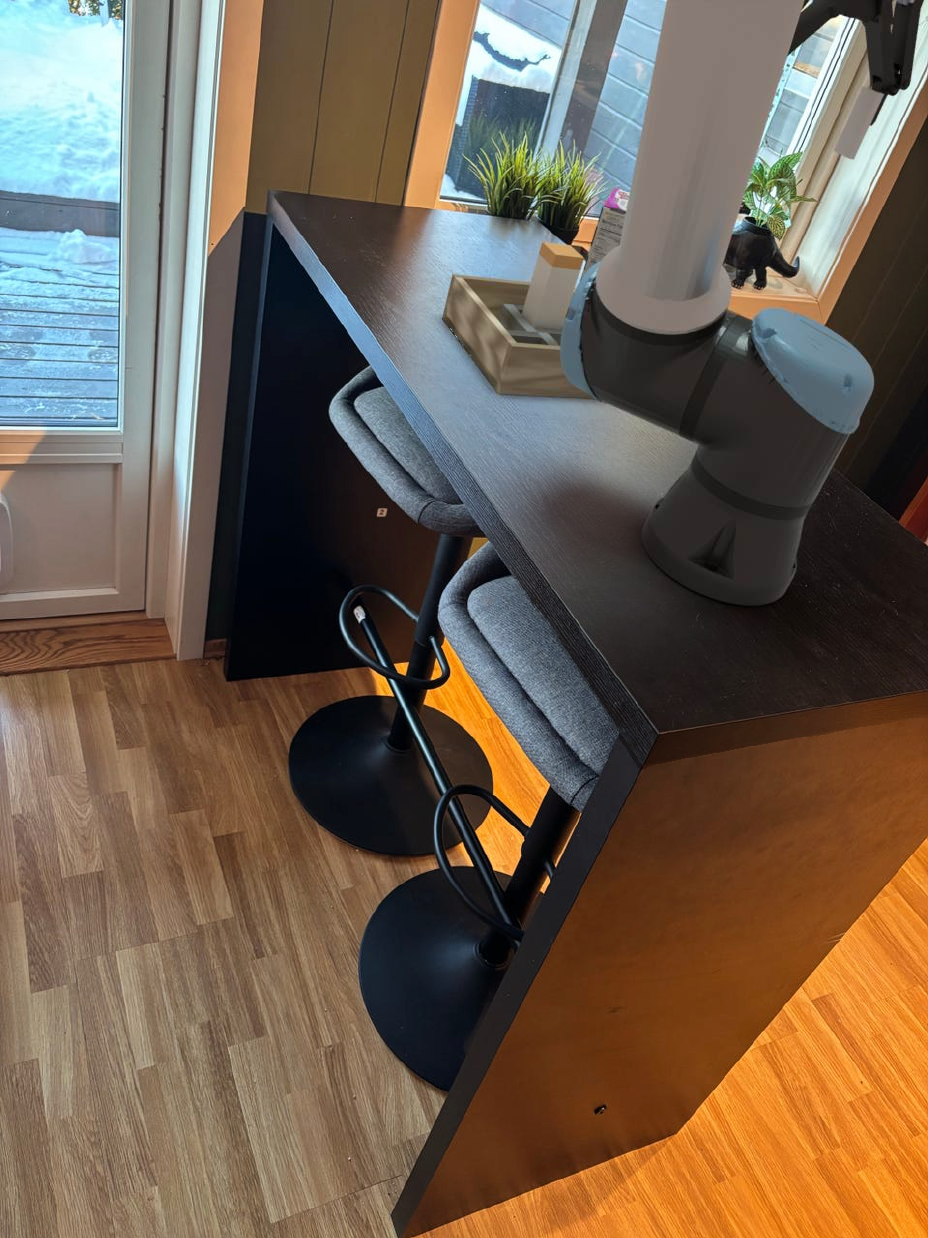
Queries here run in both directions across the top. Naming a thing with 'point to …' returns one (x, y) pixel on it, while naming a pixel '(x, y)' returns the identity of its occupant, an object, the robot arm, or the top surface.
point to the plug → (552, 285)
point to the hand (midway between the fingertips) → (796, 145)
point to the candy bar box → (608, 228)
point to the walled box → (506, 337)
